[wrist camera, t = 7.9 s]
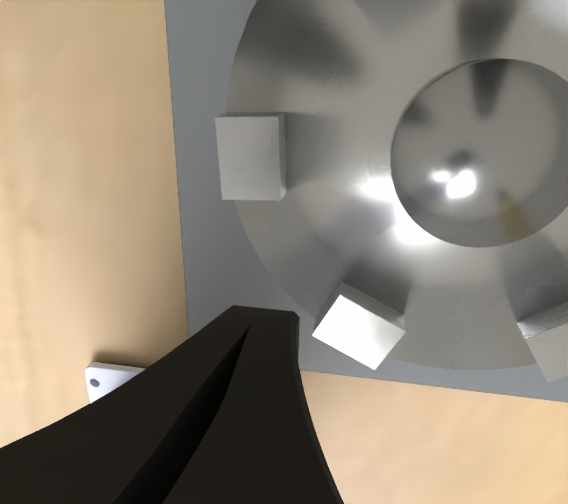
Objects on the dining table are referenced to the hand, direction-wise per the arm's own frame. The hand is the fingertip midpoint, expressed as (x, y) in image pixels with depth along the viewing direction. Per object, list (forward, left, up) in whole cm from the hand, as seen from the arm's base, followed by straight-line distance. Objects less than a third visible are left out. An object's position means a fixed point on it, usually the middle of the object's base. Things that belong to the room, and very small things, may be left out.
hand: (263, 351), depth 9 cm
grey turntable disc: (+3, -5, -9) cm, 10 cm away
